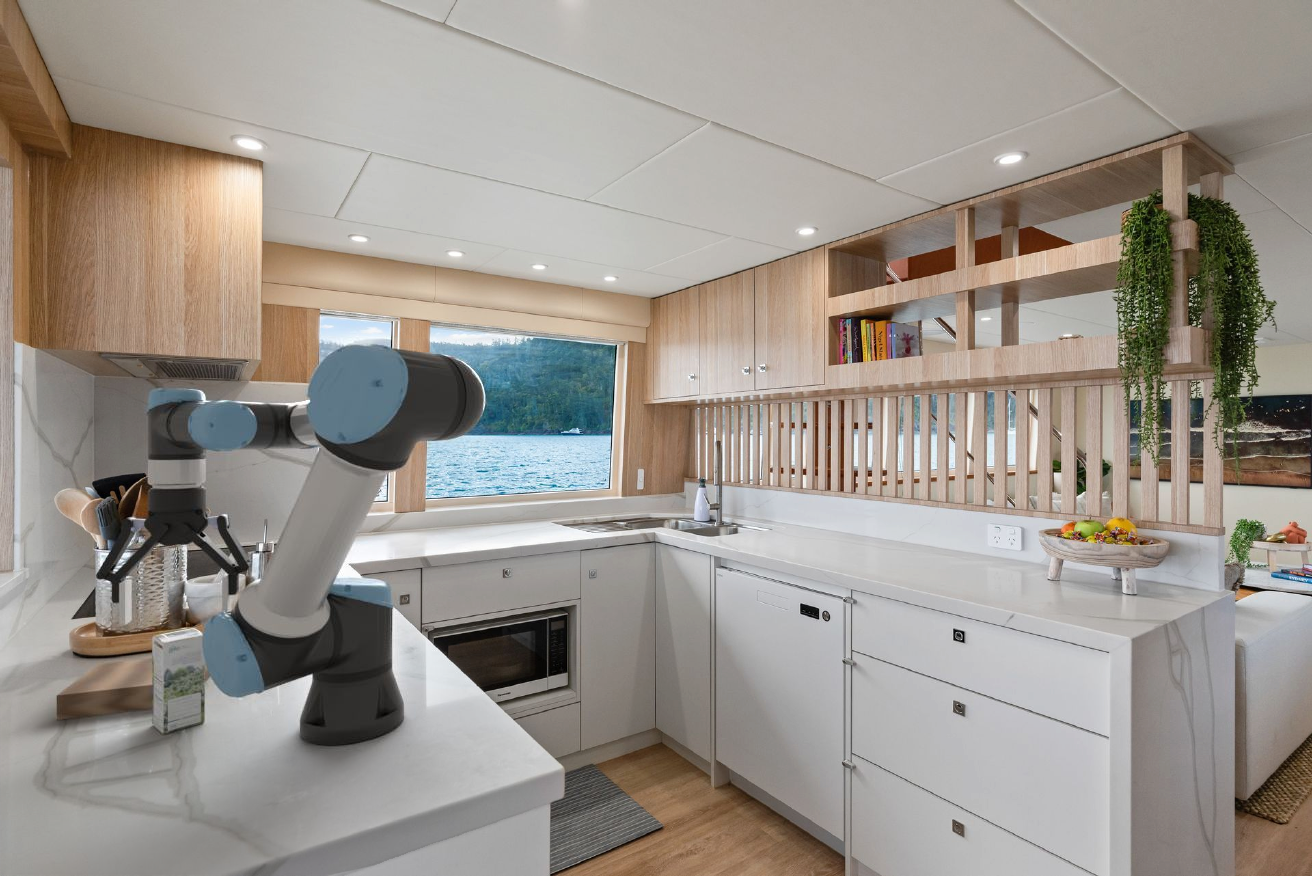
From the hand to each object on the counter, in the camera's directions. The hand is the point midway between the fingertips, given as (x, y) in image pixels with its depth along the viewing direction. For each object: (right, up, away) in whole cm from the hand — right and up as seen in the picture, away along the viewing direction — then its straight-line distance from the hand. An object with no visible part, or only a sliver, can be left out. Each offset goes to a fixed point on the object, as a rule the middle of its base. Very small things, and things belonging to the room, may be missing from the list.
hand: (177, 619), depth 107 cm
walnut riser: (-15, -17, +12) cm, 26 cm away
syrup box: (0, -17, 0) cm, 17 cm away
